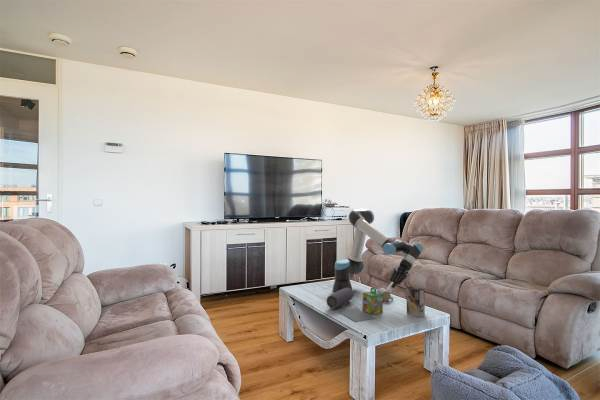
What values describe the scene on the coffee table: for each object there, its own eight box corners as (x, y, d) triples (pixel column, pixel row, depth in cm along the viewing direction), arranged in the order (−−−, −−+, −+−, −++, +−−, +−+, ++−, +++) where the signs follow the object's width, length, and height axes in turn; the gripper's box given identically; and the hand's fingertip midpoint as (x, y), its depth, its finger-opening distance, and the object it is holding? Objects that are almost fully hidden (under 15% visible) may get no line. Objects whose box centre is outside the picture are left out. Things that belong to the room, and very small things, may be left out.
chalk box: (362, 310, 203) (362, 287, 203) (373, 308, 207) (372, 285, 207) (372, 315, 195) (372, 291, 195) (383, 312, 199) (383, 288, 199)
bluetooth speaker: (342, 300, 225) (342, 285, 225) (354, 302, 220) (354, 287, 220) (325, 309, 207) (325, 293, 207) (338, 311, 201) (338, 295, 201)
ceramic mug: (381, 302, 219) (381, 290, 219) (376, 298, 227) (376, 287, 227) (395, 301, 222) (395, 290, 222) (389, 297, 230) (389, 287, 230)
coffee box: (425, 315, 193) (425, 288, 194) (420, 318, 189) (419, 291, 189) (411, 311, 200) (411, 286, 200) (406, 314, 196) (405, 287, 196)
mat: (337, 311, 202) (337, 310, 202) (355, 308, 208) (355, 307, 208) (355, 322, 183) (355, 321, 183) (375, 318, 189) (375, 317, 189)
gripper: (417, 268, 208) (398, 297, 200) (403, 264, 219) (384, 292, 212) (411, 260, 205) (392, 290, 198) (397, 257, 217) (378, 285, 210)
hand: (388, 291), depth 205 cm, fingers closed
